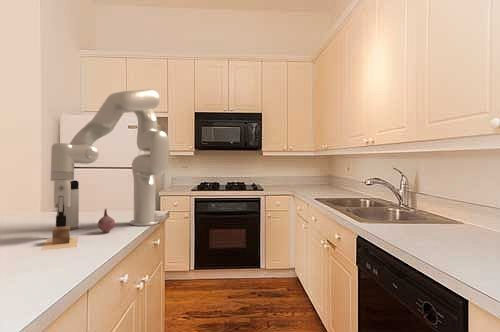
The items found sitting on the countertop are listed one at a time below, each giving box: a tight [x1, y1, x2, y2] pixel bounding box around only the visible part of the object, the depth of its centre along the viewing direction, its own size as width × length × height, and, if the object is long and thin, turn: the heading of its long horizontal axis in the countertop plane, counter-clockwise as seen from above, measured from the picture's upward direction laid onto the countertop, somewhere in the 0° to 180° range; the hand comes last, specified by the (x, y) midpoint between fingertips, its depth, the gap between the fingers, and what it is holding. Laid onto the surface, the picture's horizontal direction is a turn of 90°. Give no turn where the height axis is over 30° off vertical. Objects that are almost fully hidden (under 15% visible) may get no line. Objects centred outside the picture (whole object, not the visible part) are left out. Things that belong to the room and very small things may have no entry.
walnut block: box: [51, 226, 71, 245], centre depth 117 cm, size 5×5×5 cm
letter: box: [41, 236, 79, 251], centre depth 116 cm, size 10×15×1 cm, turn 26°
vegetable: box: [97, 208, 116, 234], centre depth 133 cm, size 6×6×10 cm
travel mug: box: [66, 180, 80, 231], centre depth 141 cm, size 6×7×20 cm
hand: (60, 226), depth 124 cm, fingers closed
